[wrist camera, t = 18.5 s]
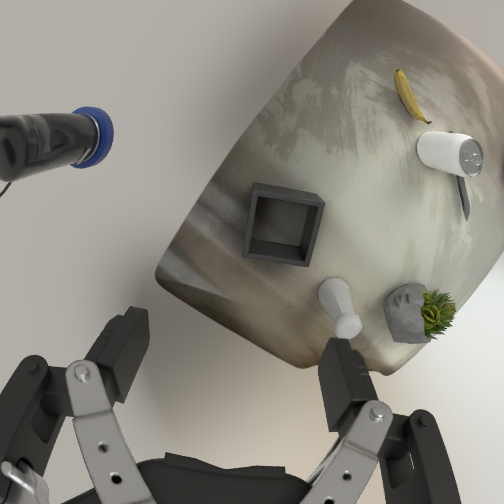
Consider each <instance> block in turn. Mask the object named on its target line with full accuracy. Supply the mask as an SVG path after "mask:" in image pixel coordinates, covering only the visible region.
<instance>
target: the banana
mask: <svg viewBox="0 0 504 504" xmlns="http://www.w3.org/2000/svg"><path fill="white" fill-rule="evenodd" d="M394 79H395V84H396V87H397V89H398V92H399V95H400V97H401V99H402V101H403V103H404V105H405V107H406V109H407V110H408V112H409V113H410V114H411V116H412V117H413V118H415V119H417V120H422V121H424V122H425V123H427V124H430V123H432V122H431V121H429V122H427V121H426V120H425V119H424V117H423V115H422V113H421V111H420V109H419V107H418V104H417V102H416V99H415V97H414V95H413V93H412V91H411V89H410V86H409V84H408V81H407V79H406V77H405V75H404V73H403V72H402V71H401V70H400V69H399V70H396V72H395V76H394Z"/></svg>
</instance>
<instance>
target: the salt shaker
mask: <svg viewBox="0 0 504 504" xmlns="http://www.w3.org/2000/svg"><path fill="white" fill-rule="evenodd" d="M318 298H319V300H320V302H321V304H322V305H323V307H324V308H325V310H326V311H327V313H328V314H329V315H330V317H331V318H332V320H333V321H334V327H333V328H334V331H335V333H336V335H337V337H339V338H346V339H351V338H354V337H355V336H356V335H358V333H359V332H360V331H361V327H362V323H361V320H360V318H359V316H358V315H356V314H355V313H354V309H353V303H352V298H351V293H350V289H349V286H348V284H347V283H346V282H345V281H344V280H342V279H340V278H337V277H333V278H327V279H326V280H325V281H324V282H323V283H322V284H321V285H320V288H319V290H318Z"/></svg>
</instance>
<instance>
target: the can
mask: <svg viewBox="0 0 504 504" xmlns="http://www.w3.org/2000/svg"><path fill="white" fill-rule="evenodd" d="M417 152H418V156H419V158H420V160H421V161H422V163H423V164H425V165H426V166H428V167H431V168H435V169H438V170H441V171H445V172H448V173H451V174H455V175H458V176H461V177H474V176H477V175H478V174H479V173H480V172H481V170H482V168H483V164H484V153H483V149H482V147H481V145H480V144H479V142H478V141H477V140H475V139H473V138H471V137H470V136H468V135H464V134H456V133H446V132H425V133H423V134H422V135H421V136H420V138H419V140H418V143H417Z"/></svg>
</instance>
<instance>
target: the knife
mask: <svg viewBox="0 0 504 504" xmlns="http://www.w3.org/2000/svg"><path fill="white" fill-rule="evenodd" d="M449 133H453V132H451V131H450V132H449ZM456 177H457V182H458V188H459V193H460V198H461V202H462V207H463V211H464V215H465V218H466V222H467V220H468V217H469V213H470V204H469V200H468V195H467V191H466V187H465V182H464V177H461V176H458V175H456Z"/></svg>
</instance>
